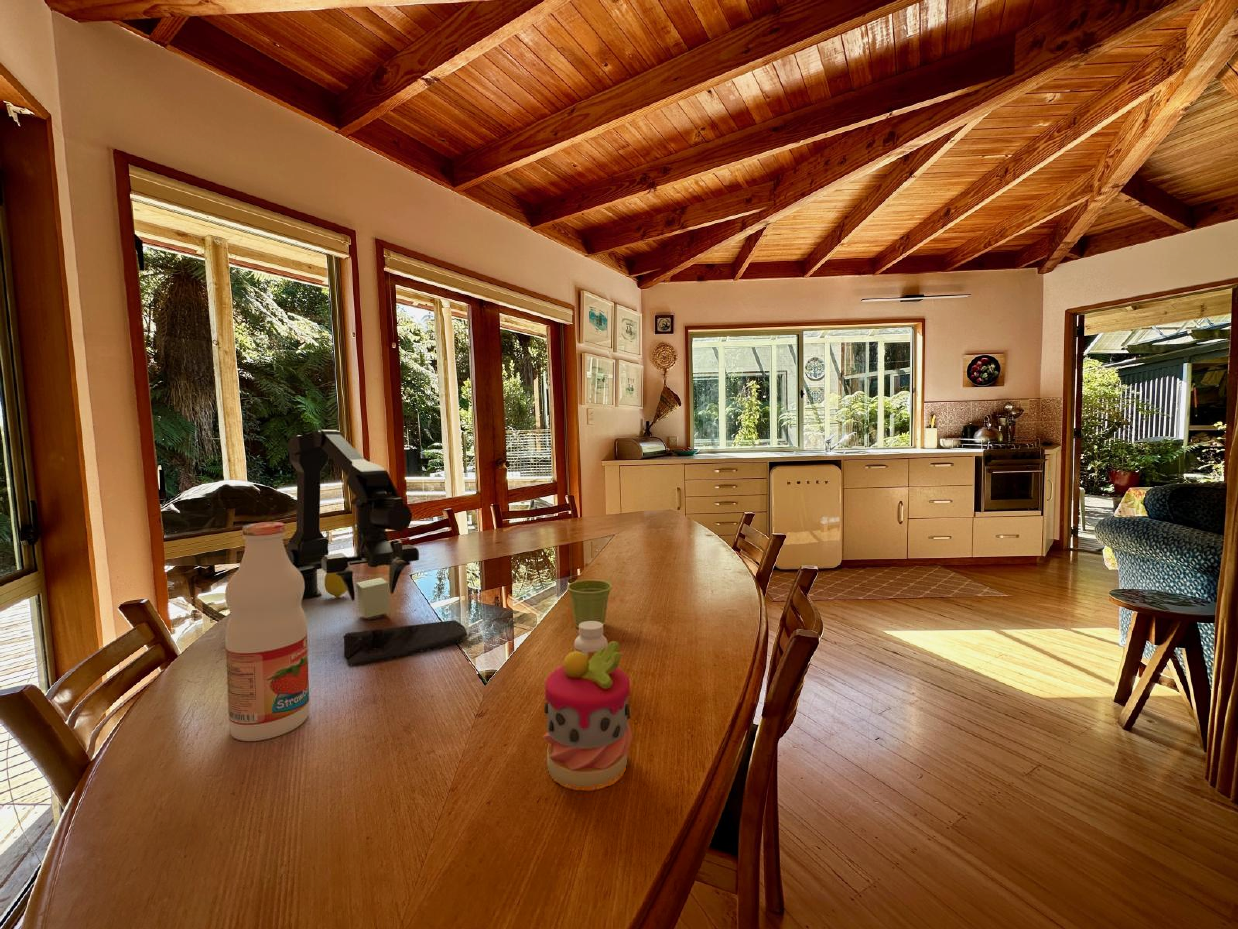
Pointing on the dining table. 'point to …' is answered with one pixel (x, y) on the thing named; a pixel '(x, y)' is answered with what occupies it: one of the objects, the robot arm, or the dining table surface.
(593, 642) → the supplement bottle
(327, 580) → the lemon
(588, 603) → the plant pot
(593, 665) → the cake
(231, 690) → the fruit juice
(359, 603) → the cream rectangular block
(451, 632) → the dark slate chunk
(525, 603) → the dining table surface
